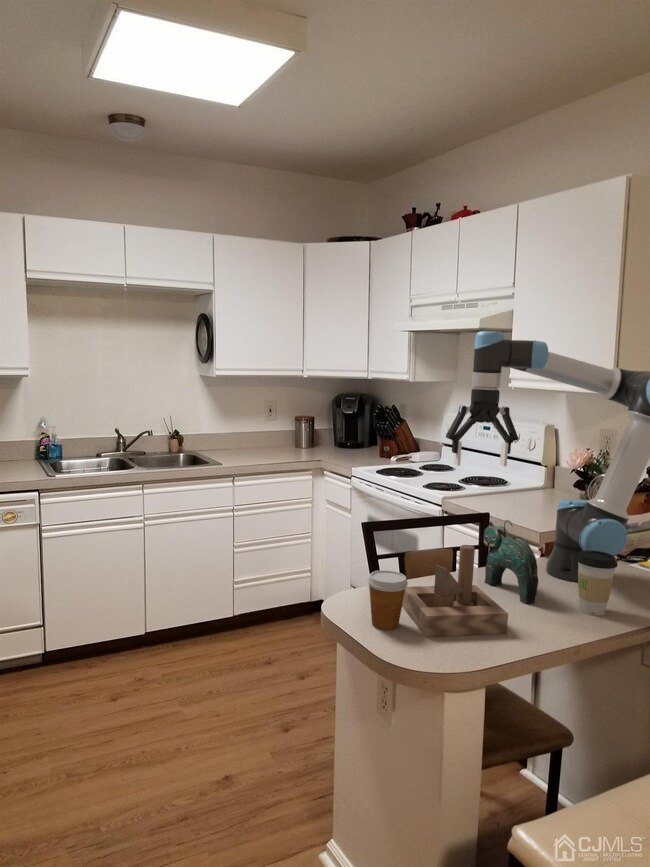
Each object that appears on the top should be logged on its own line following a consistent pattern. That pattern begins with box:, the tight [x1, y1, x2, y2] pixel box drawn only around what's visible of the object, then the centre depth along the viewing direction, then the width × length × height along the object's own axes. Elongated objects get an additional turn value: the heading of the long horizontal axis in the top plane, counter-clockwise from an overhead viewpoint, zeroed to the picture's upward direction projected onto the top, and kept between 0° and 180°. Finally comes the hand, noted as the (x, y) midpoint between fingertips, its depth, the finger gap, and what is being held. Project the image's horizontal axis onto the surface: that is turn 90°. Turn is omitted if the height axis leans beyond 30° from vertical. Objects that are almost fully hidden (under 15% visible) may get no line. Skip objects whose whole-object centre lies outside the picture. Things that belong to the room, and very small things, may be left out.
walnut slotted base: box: [402, 584, 509, 638], centre depth 163 cm, size 20×19×5 cm
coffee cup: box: [577, 550, 619, 617], centre depth 171 cm, size 10×10×15 cm
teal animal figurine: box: [482, 519, 539, 605], centre depth 183 cm, size 20×6×20 cm, turn 23°
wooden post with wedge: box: [434, 544, 476, 607], centre depth 162 cm, size 4×11×18 cm, turn 125°
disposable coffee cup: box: [367, 569, 409, 631], centre depth 157 cm, size 10×10×12 cm
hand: (480, 465), depth 183 cm, fingers open, 13 cm apart
